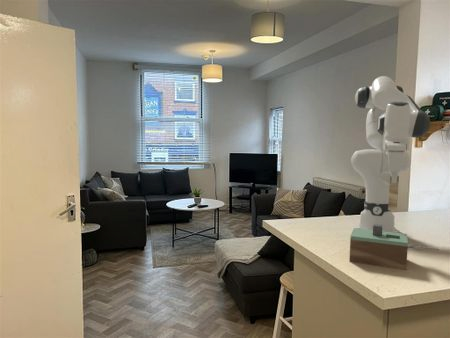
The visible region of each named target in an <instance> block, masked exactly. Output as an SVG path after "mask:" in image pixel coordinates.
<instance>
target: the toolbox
mask: <svg viewBox="0 0 450 338" xmlns="http://www.w3.org/2000/svg"><path fill="white" fill-rule="evenodd" d="M349 240H350V243H349V262H350V263H356V264H357V263H358V264H364V265H370V266H378V267H384V268H389V269H396V270H403V271H407V267H408V266H407V264H408V250H409V249H408V247H407V246H399V245H391V244H383V243H375V242H368V241H360V240H352V239H349Z"/></svg>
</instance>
